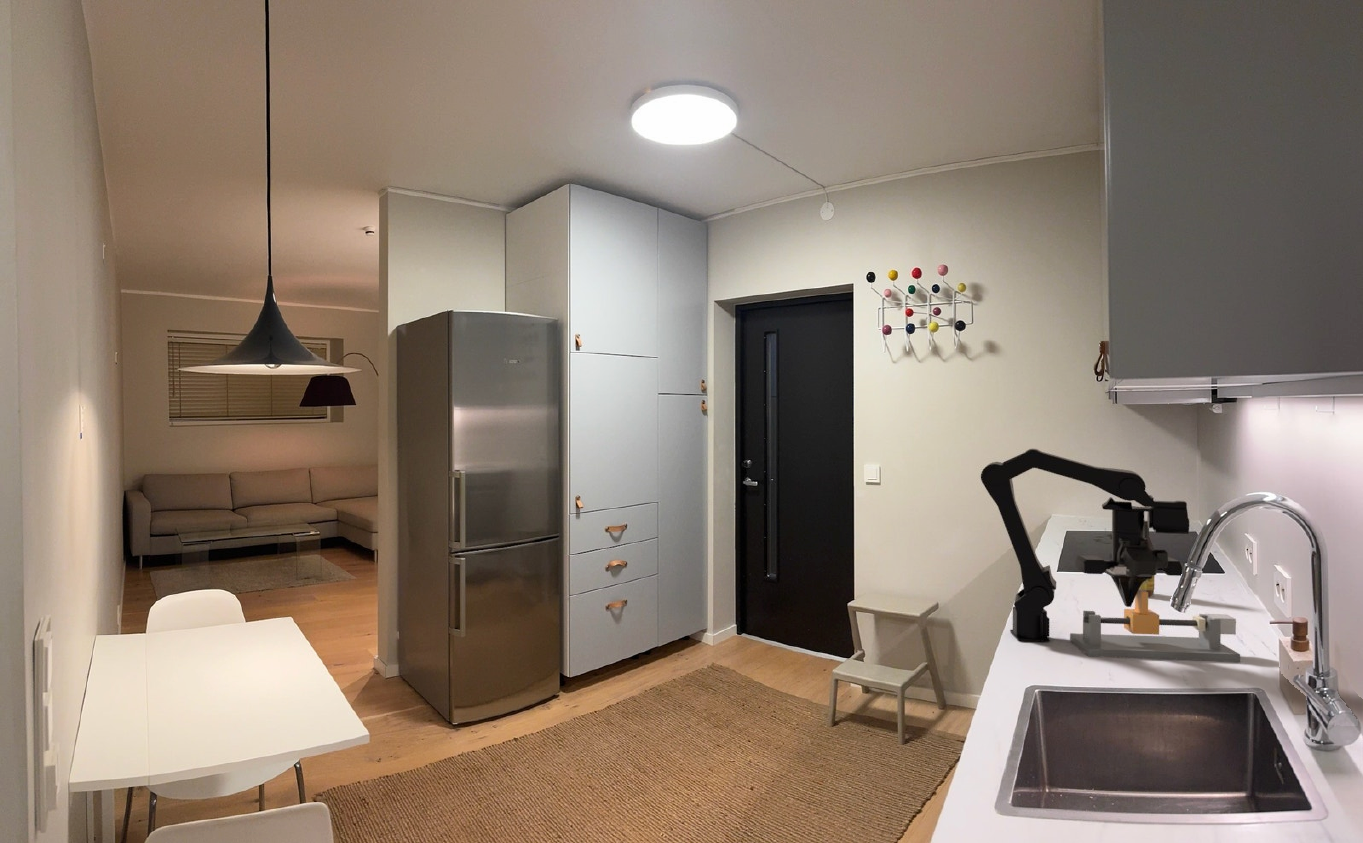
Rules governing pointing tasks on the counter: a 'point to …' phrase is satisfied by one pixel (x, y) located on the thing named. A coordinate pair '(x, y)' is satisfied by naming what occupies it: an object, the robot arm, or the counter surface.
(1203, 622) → the stand
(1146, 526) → the sauce bottle
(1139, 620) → the orange slider block
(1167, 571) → the robot arm
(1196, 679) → the counter surface
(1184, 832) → the counter surface
